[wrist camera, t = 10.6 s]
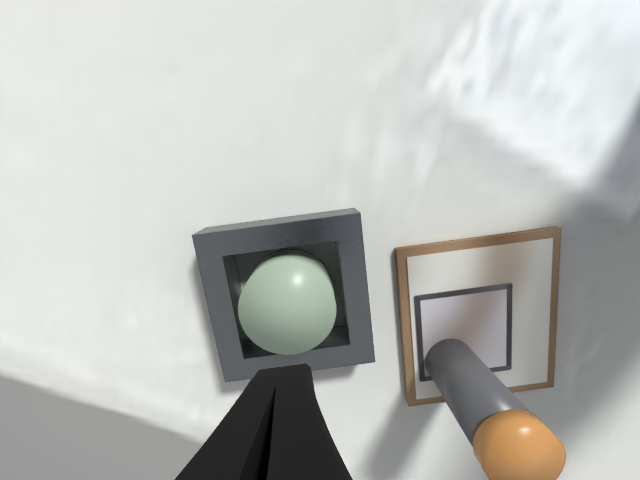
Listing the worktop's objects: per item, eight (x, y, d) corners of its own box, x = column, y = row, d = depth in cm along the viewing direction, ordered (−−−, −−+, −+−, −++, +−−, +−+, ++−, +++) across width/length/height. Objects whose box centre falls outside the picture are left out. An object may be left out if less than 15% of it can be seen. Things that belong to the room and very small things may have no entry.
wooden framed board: (555, 226, 17) (563, 228, 16) (548, 382, 19) (555, 388, 18) (394, 247, 17) (397, 250, 16) (406, 401, 19) (409, 408, 18)
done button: (327, 244, 16) (330, 257, 14) (337, 322, 17) (341, 347, 15) (241, 255, 16) (229, 271, 14) (256, 333, 17) (247, 360, 15)
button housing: (354, 208, 16) (360, 212, 14) (368, 341, 18) (375, 362, 16) (206, 227, 16) (191, 235, 14) (234, 359, 18) (225, 382, 16)
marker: (479, 340, 18) (576, 434, 11) (466, 385, 18) (551, 499, 12) (430, 333, 17) (499, 425, 11) (418, 379, 18) (477, 491, 12)
